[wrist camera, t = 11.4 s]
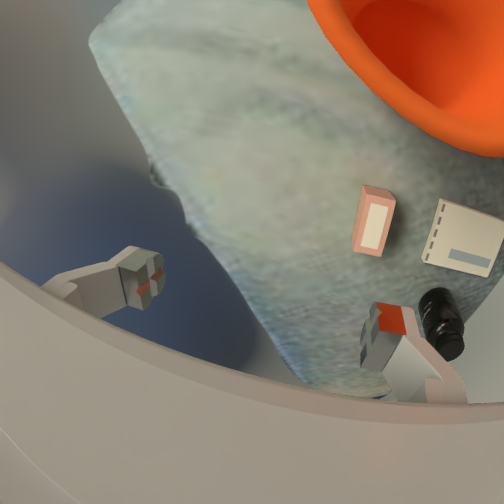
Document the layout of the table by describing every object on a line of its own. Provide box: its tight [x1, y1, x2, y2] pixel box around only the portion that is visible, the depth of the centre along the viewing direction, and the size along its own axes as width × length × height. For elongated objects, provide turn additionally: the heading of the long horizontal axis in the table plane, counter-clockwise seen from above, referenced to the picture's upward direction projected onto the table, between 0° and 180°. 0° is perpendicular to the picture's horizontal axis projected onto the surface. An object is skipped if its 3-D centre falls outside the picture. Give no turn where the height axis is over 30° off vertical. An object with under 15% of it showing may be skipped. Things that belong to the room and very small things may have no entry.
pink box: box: [352, 185, 396, 257], centre depth 35 cm, size 4×8×5 cm, turn 176°
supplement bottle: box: [418, 288, 465, 362], centre depth 35 cm, size 7×7×12 cm
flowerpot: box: [307, 0, 504, 158], centre depth 16 cm, size 25×25×20 cm
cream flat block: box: [421, 198, 504, 277], centre depth 33 cm, size 14×10×2 cm
